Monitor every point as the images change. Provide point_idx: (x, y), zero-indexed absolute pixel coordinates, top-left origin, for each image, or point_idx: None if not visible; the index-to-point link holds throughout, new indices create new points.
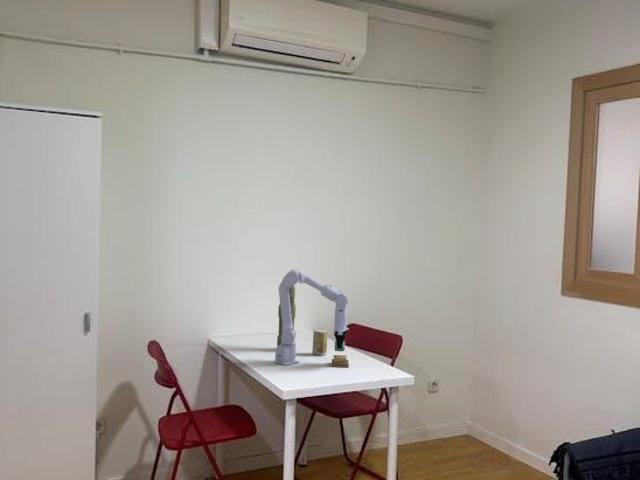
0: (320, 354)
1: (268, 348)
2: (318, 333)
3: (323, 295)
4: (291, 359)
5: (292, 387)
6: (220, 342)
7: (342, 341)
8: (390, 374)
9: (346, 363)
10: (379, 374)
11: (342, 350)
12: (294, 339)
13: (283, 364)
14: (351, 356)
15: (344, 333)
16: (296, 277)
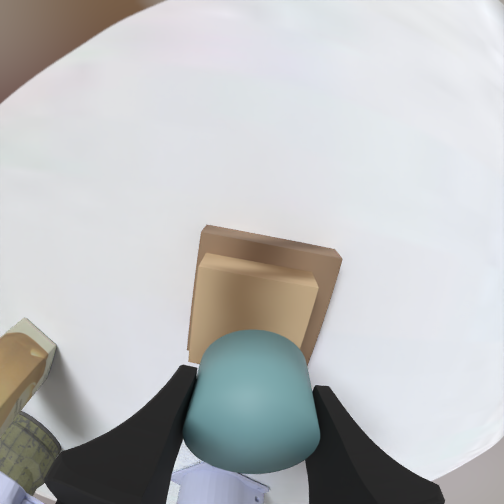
0: (51, 356)
1: None
2: None
3: None
4: (240, 491)
5: (492, 437)
6: (48, 496)
7: (367, 448)
8: (472, 37)
9: (330, 273)
10: (481, 95)
11: (303, 360)
12: (4, 439)
13: (261, 492)
14: (24, 172)
15: (151, 490)
16: None
